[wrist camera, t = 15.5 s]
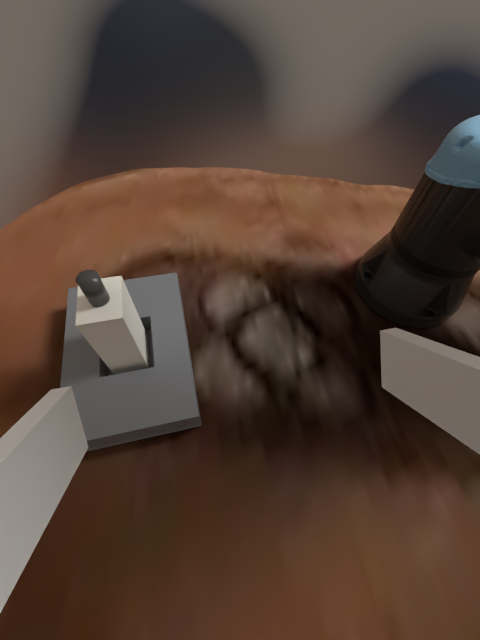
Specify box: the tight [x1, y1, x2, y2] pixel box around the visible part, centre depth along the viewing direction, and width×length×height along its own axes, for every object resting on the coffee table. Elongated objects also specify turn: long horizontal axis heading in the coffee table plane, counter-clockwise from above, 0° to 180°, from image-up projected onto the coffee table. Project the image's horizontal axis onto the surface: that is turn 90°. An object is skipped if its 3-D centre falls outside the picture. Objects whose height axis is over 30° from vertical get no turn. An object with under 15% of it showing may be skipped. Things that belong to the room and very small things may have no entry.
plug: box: [75, 270, 150, 375], centre depth 32 cm, size 4×5×15 cm
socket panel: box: [60, 273, 202, 452], centre depth 37 cm, size 14×20×4 cm
